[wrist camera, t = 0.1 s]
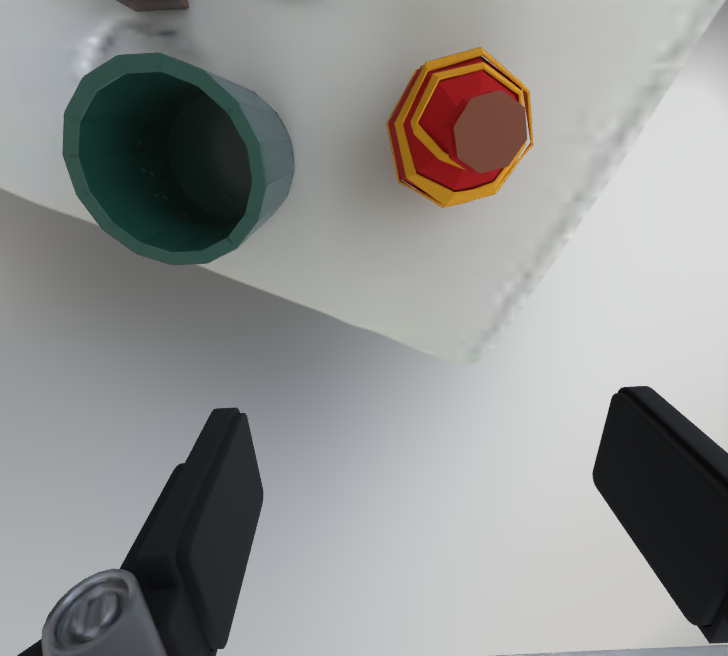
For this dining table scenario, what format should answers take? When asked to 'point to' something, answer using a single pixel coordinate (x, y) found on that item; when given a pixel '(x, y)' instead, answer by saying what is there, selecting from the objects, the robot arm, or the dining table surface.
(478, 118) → the potion bottle
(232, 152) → the green tube
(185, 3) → the block
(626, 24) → the dining table surface
